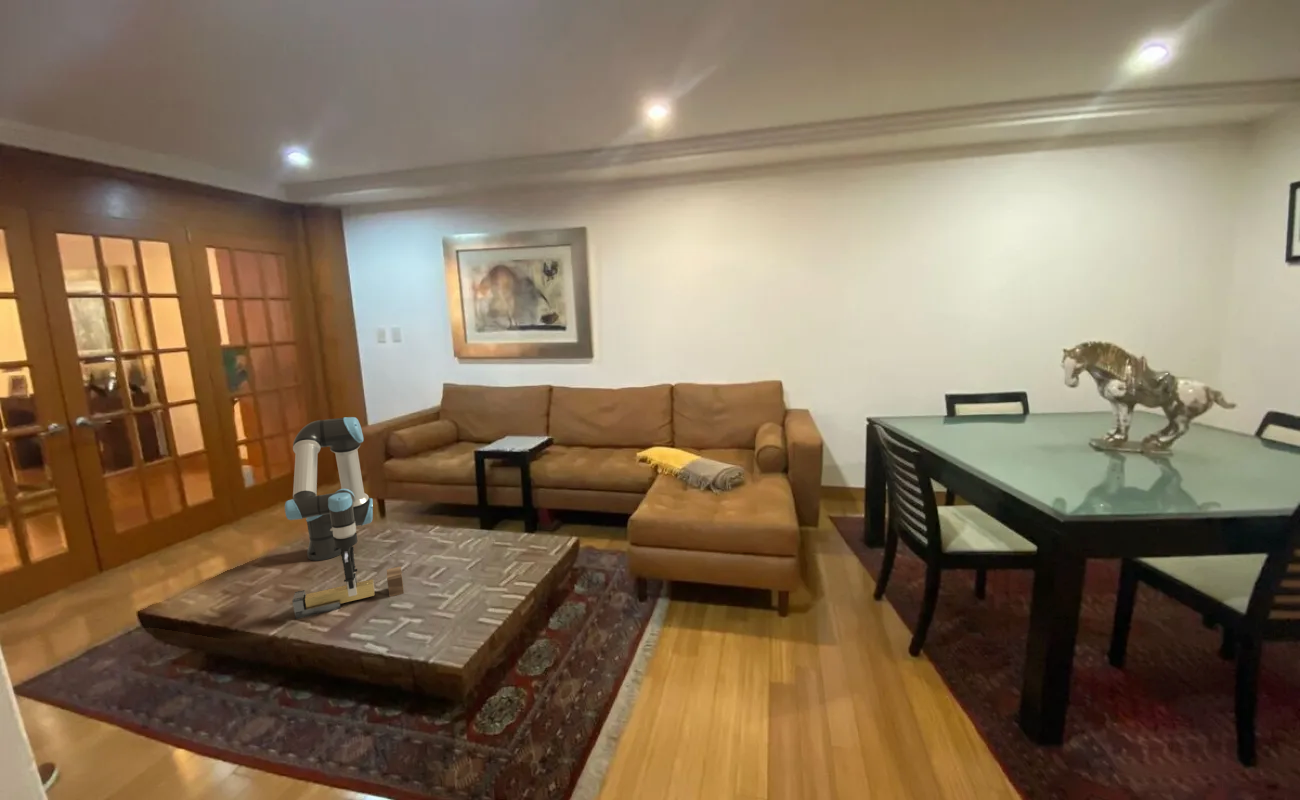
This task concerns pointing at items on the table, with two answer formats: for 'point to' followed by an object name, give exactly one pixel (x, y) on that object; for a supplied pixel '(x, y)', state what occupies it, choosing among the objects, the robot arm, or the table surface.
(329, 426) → the robot arm
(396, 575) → the socket
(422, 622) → the table surface
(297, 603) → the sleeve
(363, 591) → the tan wooden bar
